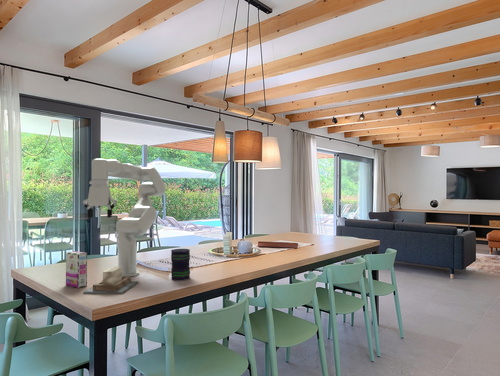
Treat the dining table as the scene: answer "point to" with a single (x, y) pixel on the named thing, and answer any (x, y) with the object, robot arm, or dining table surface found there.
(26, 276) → the dining table surface
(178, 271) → the storage jar
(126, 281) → the slot board
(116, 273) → the ash block
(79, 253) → the candy bar box
